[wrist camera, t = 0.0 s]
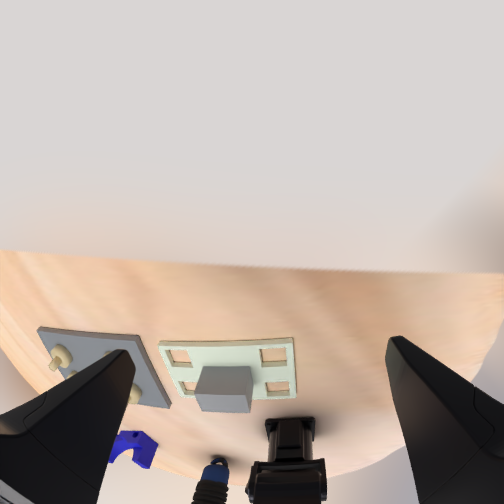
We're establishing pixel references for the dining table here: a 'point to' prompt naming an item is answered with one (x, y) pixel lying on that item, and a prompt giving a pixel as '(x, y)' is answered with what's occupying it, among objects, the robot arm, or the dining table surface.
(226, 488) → the flashlight
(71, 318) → the dining table surface
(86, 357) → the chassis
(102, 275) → the dining table surface
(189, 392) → the board
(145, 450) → the blue u-shaped cradle
